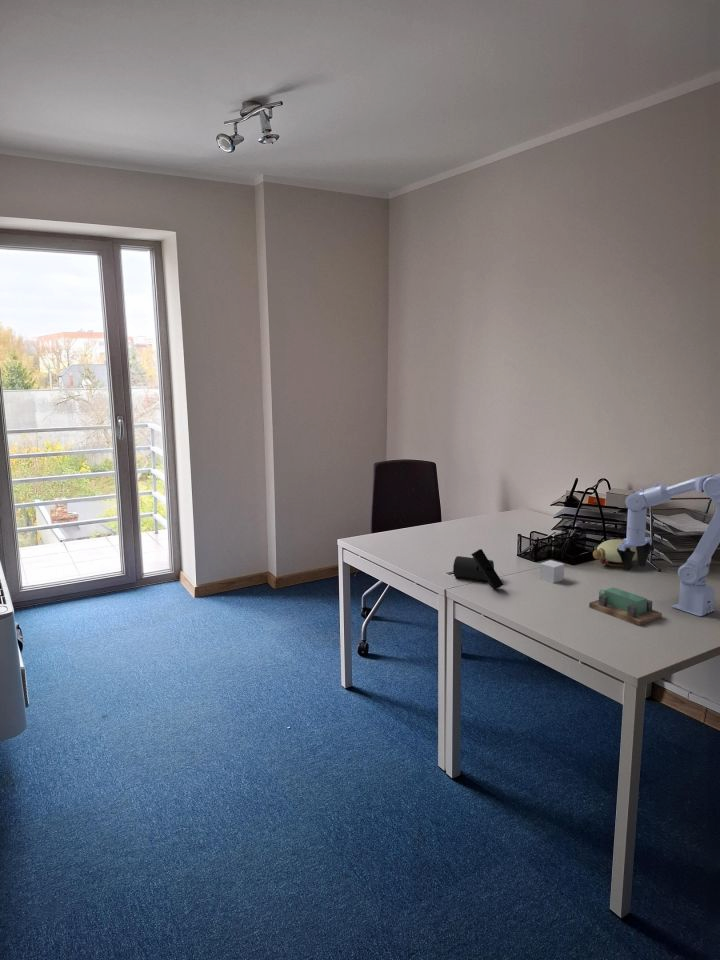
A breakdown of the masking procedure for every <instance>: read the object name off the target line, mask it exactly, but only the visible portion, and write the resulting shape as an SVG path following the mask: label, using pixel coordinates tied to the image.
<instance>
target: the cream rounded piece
mask: <svg viewBox="0 0 720 960" xmlns="http://www.w3.org/2000/svg"><path fill="white" fill-rule="evenodd" d="M622 542H624V539H619V538H618V539H616V538H615V539H609V540H608V539H607V540H605V541H603V542H601V543H600V544H598V545H597V549H595V550H593V552H592V556H593V558H594V559H595V560H599V561H600V564H602V565H608V566H610V567H623V564H622V560H621V557H620V555H619V553H618V552H617V548H619V544H621V543H622ZM630 550H631V551H633V552H635V554H634V556H633V559H632V562H633V561H635V560H637V550H636V547H633V548H630ZM611 562H612V563H616V564H612V563H611ZM617 563H621V564H617ZM632 565H633V563H632V564H631V566H632Z"/></svg>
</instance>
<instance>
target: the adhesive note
mask: <svg viewBox="0 0 720 960" xmlns="http://www.w3.org/2000/svg"><path fill="white" fill-rule="evenodd" d="M539 580H542V581H545V582H548V583H550V582H551V583H550V584H556V583H558V582H560V581H563V580H565V564H564V563H562V562H560V561H559V562H558V561H555V560H552V559H549V560H546V561H543V562H540V563H539Z"/></svg>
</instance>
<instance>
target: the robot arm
mask: <svg viewBox="0 0 720 960" xmlns="http://www.w3.org/2000/svg"><path fill="white" fill-rule="evenodd" d="M692 491H696V492H698V493H700V494H704V493H705V494H706V496H707V497H708V498H709V499H710V500H711V501H712V502H713V503H714V506H715V507H716V511H715V513H714V514H713V517H712V518H711V520H710V522H709V524H708V525H707V526H706V528H705V531H704V533H703V535H702V537H700V539H699V542H698V544H697V545H696V547H695V548H694V551H693V552H692V554H691V555H690V556H689V557H688V558H687V560H686V562H685V563H684V564H682V565H680V566H679V568H678V569H677V576H678V578H679V590H678V603H676V604H673V605H672V606H671V607H672V608H673V609H676V610H679V611H683V612H686V613H688V614H692V615H695V616H698V617H702V616H705V614H706V615H707V613H708V614H711V613H713V612H715V610H716V609H714V607H715V606H714V605H715V597H716V596H715V595H716V592H715V588H714V587H712V586H710V585H708V583H707V579H706V576H708V574H709V573H710V565H711V562H712V556H713V555H714V553H715V551H716V549H717V548H718V546H719V544H720V472H717V474H715V473H712V474H705V475H701V476H698V477H697V476H696V477H693V478H690V479H688V480H685V481H681V482H679V483H676V484H673V485H670V486H668V485H666V484H662V483H661V484H660V483H656V484H653V486H652V487H649V488H646V489H645V488H641V489H639V491H636V492H632V493H630V494H629V495H627V496H626V498H625V501H624V502H625V506H626V507H627V520H626V523H627V524H626V538H625V537H624V538H623V540H624V542H622V543H621V544H619V548H617V552H618V553H619V555H620V557H621V560H622V562H621V565H622V564H623V566H622V569H623V570H625V571H629V572H630V571H631V568H632V565H633V561H632V559H633V556H634V554H635V552H633V551H631V550H630V548H633V547H636V550H637V559H636V560H637V565H638V566H641V567H645V566H646V563H647V560H648V558H649V555H650V554H651V552H652V550H654V545H652V542H653V541H652V540H653V539H652V538H653V537H649V536H646V530H647V516H648V515H647V510H648V508H651V507H654V506H657V505H658V506H659V505H661V504H664V503H668V502H670V501H671V499H672V497H673V496H678V495H681V494H686V493H690V492H692ZM631 564H632V565H631ZM712 611H713V612H712ZM710 612H711V613H710Z"/></svg>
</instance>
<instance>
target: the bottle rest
mask: <svg viewBox="0 0 720 960" xmlns="http://www.w3.org/2000/svg"><path fill="white" fill-rule="evenodd" d="M607 600H608V597H607V596H604V595H598V599H597V600H594V601H590V602H589V606H588V607H589V608H590V609H593V610H596V611H597V612H601V613H604V614H606V615H609V616H612V617H614V618H616V617H617V619H619V618H620V619H619V620H622V621H624V620H625V622H628V623H630V624H632V623H633V625H635V626H638V627H640V626H643V625H645V624H648V623H651V622H653V621H657V620H659V619H662V618H663V612H661V611H658V610H655V609H653V601H652V600H649V599H647V608H646V612H645V613H642V614H640V615H636V613H637V607H636V606H633V605H629V606H628V610H627V612H626V611H624V610H621V609H618V608H615V607H613V606H610V605H607Z"/></svg>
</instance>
